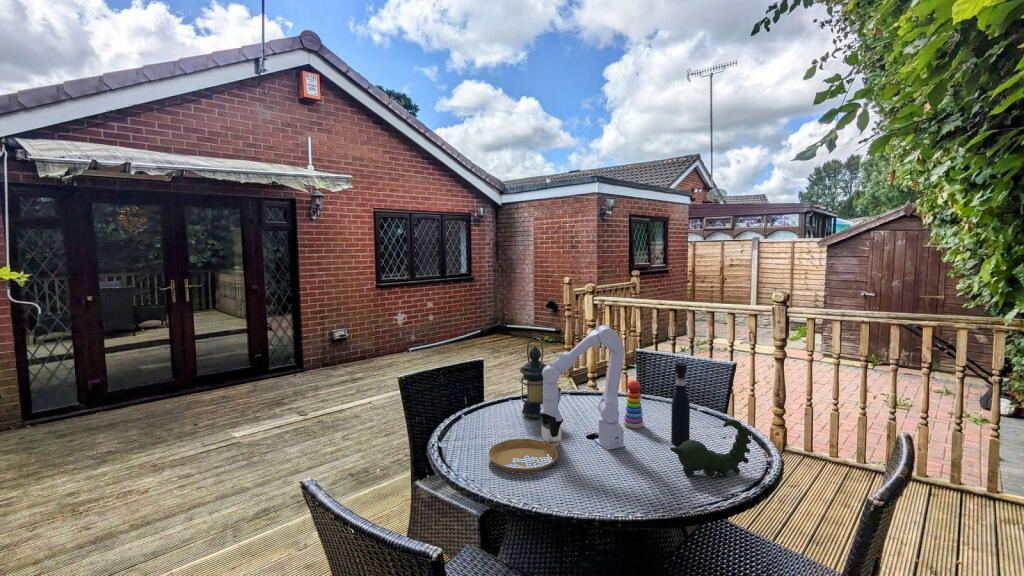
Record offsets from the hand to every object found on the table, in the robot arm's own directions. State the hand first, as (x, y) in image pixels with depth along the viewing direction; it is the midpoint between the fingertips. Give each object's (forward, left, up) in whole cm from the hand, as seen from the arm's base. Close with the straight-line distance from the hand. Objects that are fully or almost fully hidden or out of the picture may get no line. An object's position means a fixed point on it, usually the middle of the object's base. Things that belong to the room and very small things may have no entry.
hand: (551, 433), depth 177 cm
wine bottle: (-19, -44, -4) cm, 48 cm away
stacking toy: (+3, -39, -4) cm, 39 cm away
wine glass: (+18, -9, -4) cm, 20 cm away
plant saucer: (-9, +15, -4) cm, 18 cm away
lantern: (+30, -7, -4) cm, 31 cm away
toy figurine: (-42, -36, -4) cm, 55 cm away
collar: (0, 0, -2) cm, 2 cm away
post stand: (0, 0, -4) cm, 4 cm away
